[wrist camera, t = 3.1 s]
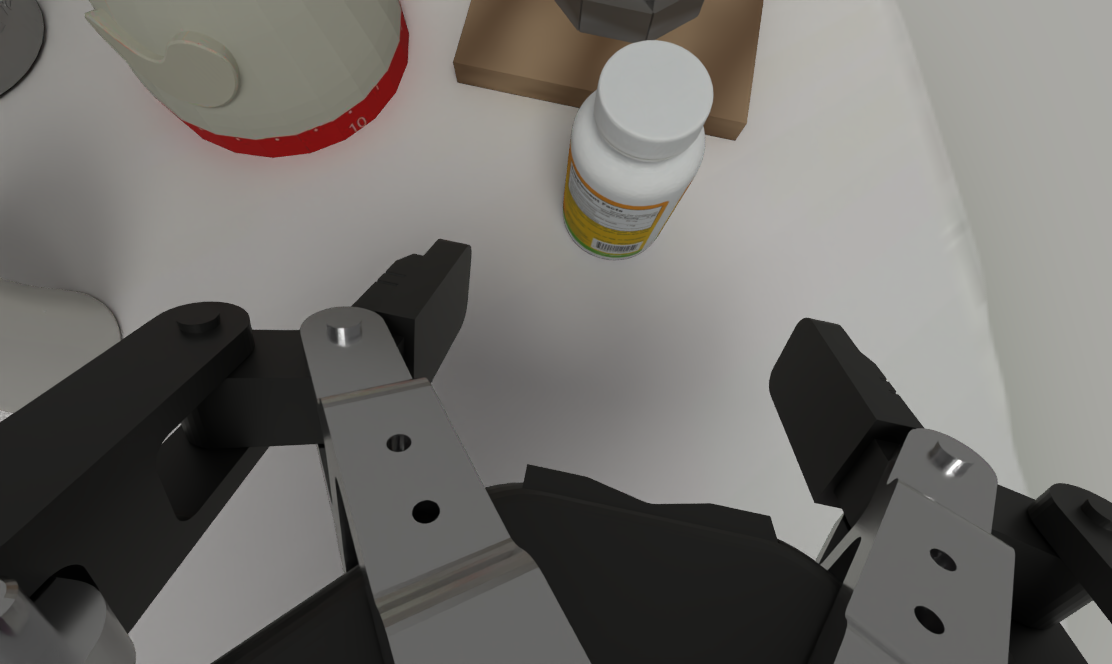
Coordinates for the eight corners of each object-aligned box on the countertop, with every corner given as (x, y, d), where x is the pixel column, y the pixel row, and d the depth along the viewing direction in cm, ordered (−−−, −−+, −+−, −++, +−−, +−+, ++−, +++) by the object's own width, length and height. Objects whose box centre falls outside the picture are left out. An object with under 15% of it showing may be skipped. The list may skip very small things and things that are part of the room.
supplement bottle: (618, 152, 26) (665, -5, 17) (681, 224, 26) (767, 102, 16) (541, 205, 26) (545, 72, 16) (604, 282, 25) (647, 189, 15)
